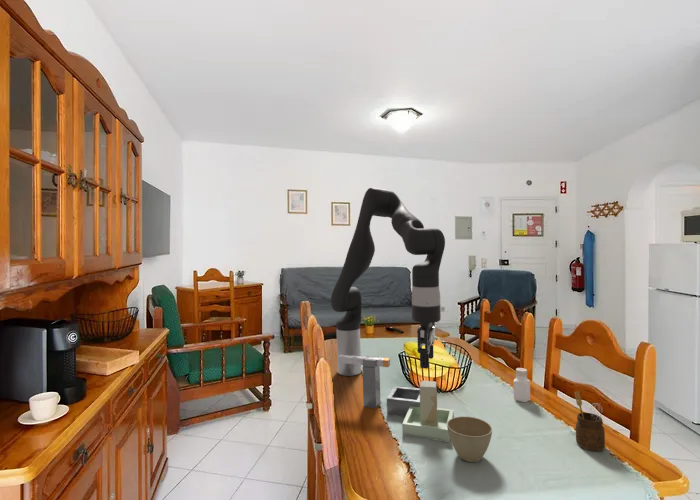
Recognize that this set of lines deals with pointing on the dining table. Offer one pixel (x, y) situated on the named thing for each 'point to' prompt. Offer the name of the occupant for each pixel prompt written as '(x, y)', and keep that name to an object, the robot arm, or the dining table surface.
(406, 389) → the collar
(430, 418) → the box
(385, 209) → the robot arm
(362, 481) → the dining table surface
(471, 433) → the flower pot
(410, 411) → the tray
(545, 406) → the dining table surface
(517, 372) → the white pill bottle
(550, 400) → the dining table surface
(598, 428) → the utensil holder
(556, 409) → the dining table surface
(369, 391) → the post
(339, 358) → the bar
